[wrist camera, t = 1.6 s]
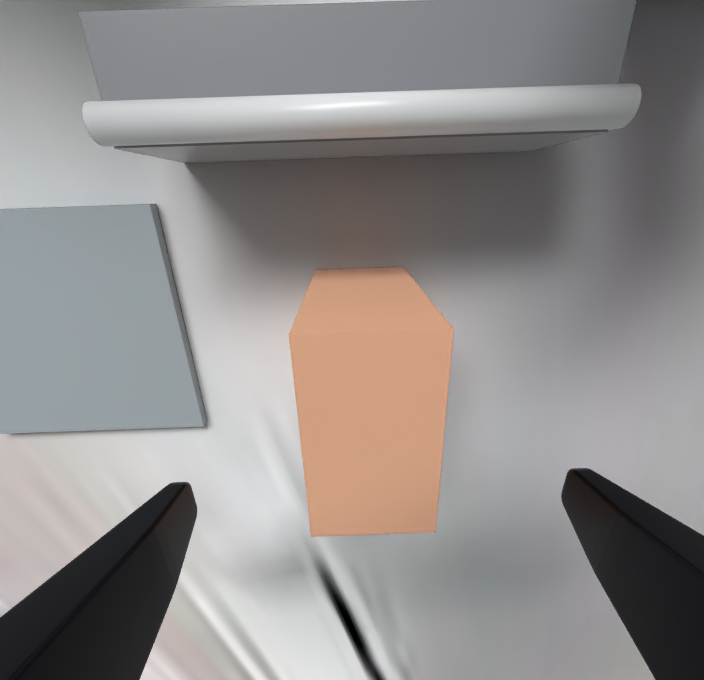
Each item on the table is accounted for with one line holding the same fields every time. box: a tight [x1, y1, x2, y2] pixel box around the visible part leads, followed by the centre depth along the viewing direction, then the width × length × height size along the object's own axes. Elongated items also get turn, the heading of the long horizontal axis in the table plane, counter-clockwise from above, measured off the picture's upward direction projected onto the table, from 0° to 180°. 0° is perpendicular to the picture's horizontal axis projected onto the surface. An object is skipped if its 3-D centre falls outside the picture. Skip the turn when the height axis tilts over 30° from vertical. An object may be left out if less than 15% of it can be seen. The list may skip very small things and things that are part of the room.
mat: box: [0, 204, 207, 434], centre depth 16 cm, size 11×11×1 cm
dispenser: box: [78, 0, 642, 163], centre depth 11 cm, size 14×3×6 cm, turn 92°
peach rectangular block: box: [289, 267, 454, 537], centre depth 13 cm, size 4×7×8 cm, turn 2°
